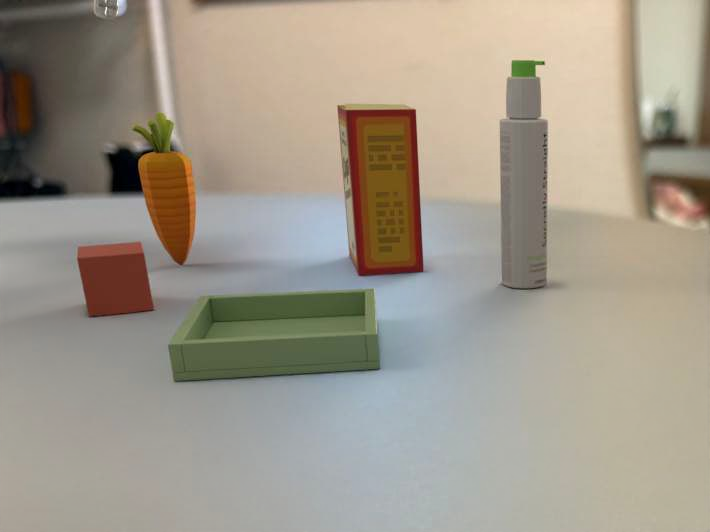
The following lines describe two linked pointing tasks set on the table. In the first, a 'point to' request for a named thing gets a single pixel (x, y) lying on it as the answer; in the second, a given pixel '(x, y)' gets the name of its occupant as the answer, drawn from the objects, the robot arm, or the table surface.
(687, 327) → the table surface
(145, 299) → the terracotta block
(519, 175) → the bottle
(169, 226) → the carrot
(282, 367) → the green tray
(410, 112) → the baking soda box
